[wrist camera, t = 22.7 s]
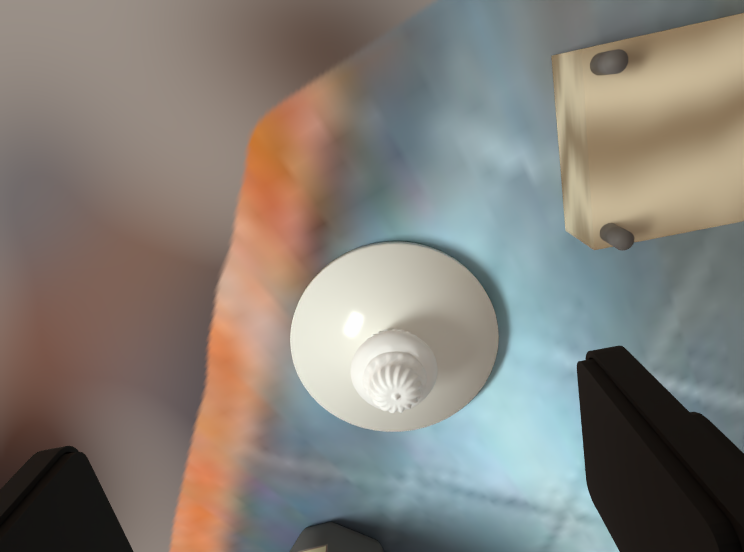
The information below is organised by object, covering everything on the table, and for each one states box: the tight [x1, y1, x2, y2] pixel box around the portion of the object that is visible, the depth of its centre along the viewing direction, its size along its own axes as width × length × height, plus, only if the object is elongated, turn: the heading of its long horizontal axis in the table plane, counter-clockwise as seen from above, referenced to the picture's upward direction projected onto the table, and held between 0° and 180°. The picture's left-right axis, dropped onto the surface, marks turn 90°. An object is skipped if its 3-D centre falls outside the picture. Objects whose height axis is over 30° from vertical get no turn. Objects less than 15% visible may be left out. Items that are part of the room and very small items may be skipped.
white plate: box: [290, 241, 499, 432], centre depth 39 cm, size 16×16×1 cm
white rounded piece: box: [351, 329, 438, 413], centre depth 35 cm, size 6×6×7 cm
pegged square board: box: [552, 13, 744, 250], centre depth 31 cm, size 12×12×7 cm
